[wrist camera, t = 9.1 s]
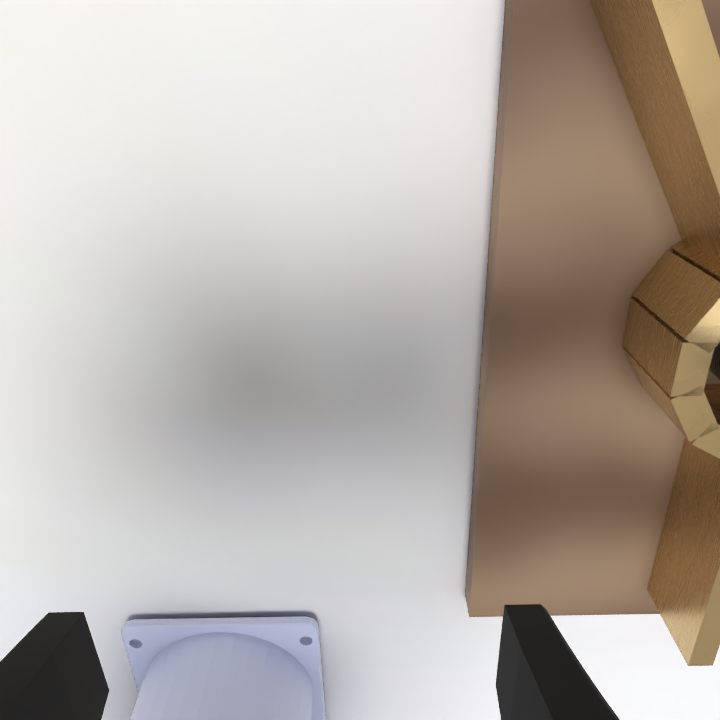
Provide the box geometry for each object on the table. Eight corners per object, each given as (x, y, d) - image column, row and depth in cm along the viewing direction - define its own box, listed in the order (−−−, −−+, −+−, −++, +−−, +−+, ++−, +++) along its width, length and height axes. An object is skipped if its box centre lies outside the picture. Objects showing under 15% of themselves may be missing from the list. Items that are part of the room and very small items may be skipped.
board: (728, 591, 24) (742, 612, 23) (465, 596, 24) (469, 616, 23) (969, -132, 14) (1011, -146, 13) (513, -115, 14) (523, -127, 13)
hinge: (738, 587, 23) (792, 664, 20) (501, 591, 23) (521, 668, 20) (969, -89, 13) (1133, -130, 11) (570, -75, 14) (626, -111, 11)
